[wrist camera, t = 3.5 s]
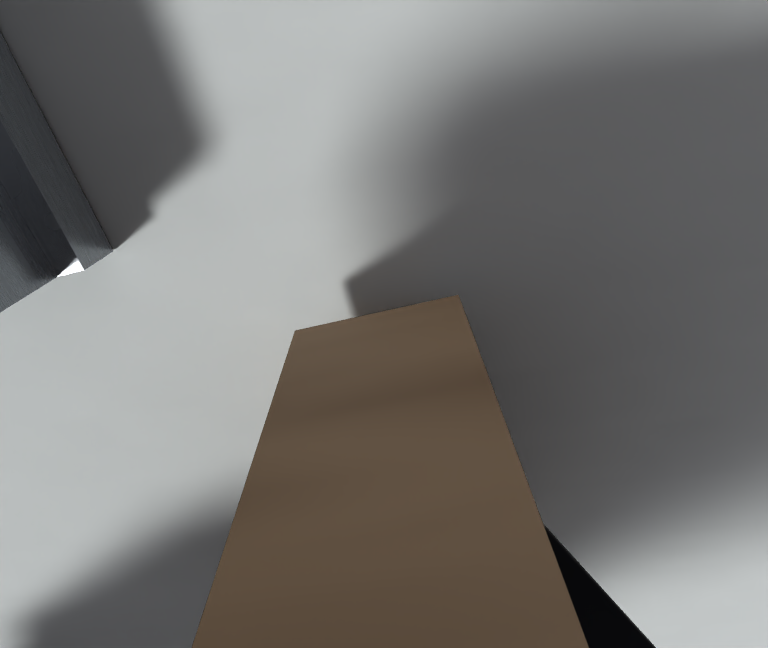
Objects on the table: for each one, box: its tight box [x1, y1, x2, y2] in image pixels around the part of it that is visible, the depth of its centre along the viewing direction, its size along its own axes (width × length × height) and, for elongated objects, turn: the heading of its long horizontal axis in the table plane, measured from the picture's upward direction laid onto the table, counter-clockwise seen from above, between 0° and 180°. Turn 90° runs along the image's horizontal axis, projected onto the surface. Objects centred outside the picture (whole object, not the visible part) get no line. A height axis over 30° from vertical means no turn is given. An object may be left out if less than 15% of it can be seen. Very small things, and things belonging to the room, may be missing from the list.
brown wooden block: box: [192, 295, 589, 648], centre depth 7 cm, size 8×3×7 cm, turn 13°
